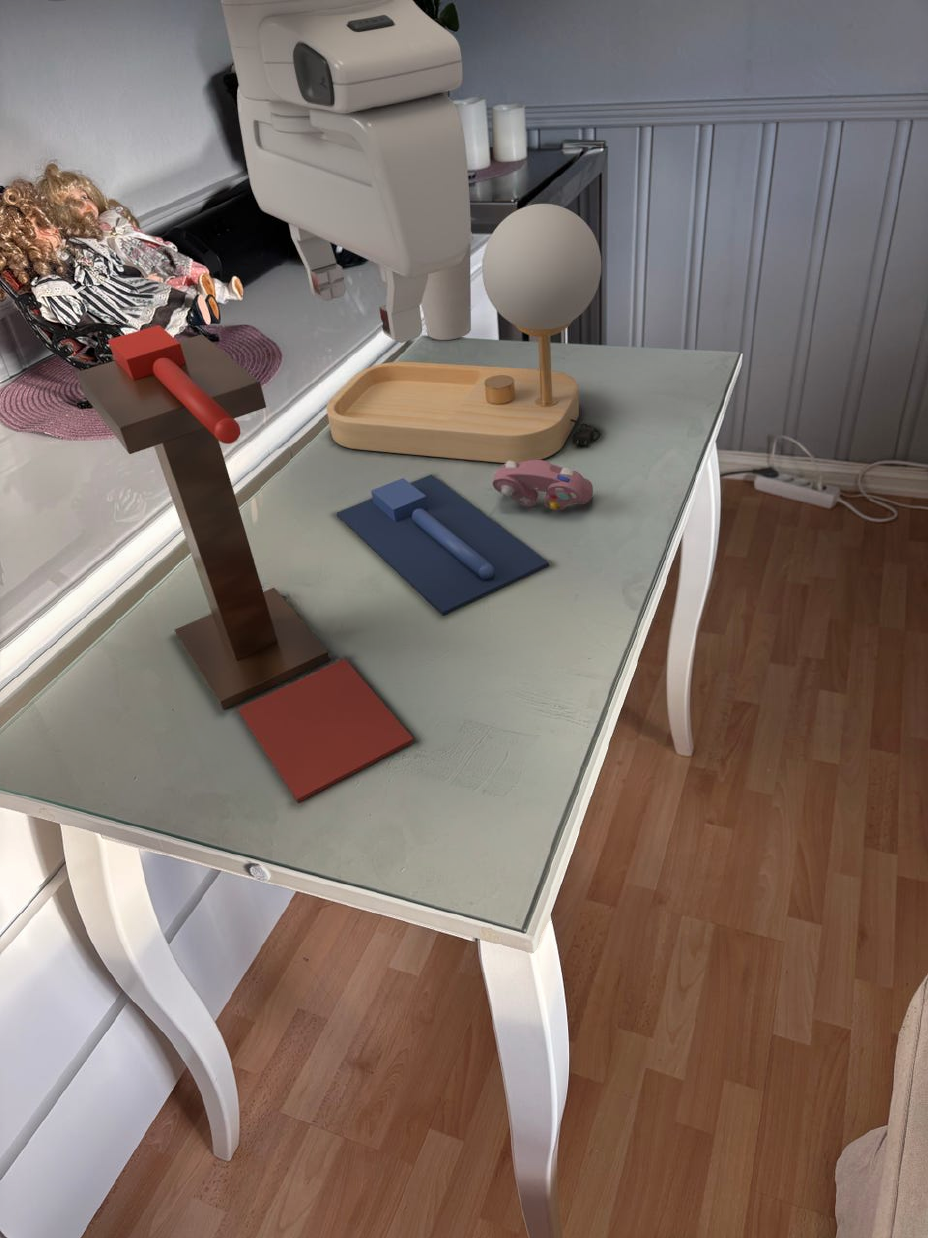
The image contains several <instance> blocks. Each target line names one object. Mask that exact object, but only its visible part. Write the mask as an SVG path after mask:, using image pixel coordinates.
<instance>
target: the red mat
mask: <svg viewBox="0 0 928 1238" xmlns="http://www.w3.org/2000/svg"><path fill="white" fill-rule="evenodd" d="M237 711H238V713H239V714H240V716H241V717H242V719H243V720H244V722H245V723H246V725H247V726H248V728H249V730H250V731H251V732H252V735H253V736H254V737H255V739H256V740H257V742H258V744H259V746H260V747H261V748H262V750H263V751H264V753H265V754H266V756H267V757H268V759H269V760H270V762H271V763H272V765H273V767H274V768H275V770H276V771H277V773H278V774H279V776H280V777H281V779H282V781H283V782H284V784H285V785H286V786H287V788H288V789H289V791H290V793H291V794H292V796H293V797H294V799H295V801H296V802H297V803H301V802H302V801H304V800H306V799H308V798H310V797H312V796H314V795H315V794H318V793H319V792H321V791H323V790H325V789H327V788H329V787H331V786H333V785H335V784H336V783H338V782H340V781H342V780H344V779H346V778H348V777H350V776H352V775H353V774H355V773H357V772H359V771H361V770H364V769H365V768H367V767H368V766H372V764H374V763H377V762H378V761H381V760H382V759H384V758H386V757H388V756H390V755H392V754H394V753H395V752H397V751H399V750H401V749H403V748H405V747H407V746H409V745H411V744H413V743H415V739H414V737H413V736H412V735H411V733H409V732H408V731H407V729H406V728H405V727H404V726H403V725H402V723H401V722H400V721H399V720H398V719H397V717H396V716H395V715H394V714H393V713H392V712H391V710H390V709H389V708H388V707H387V706H386V705H385V703H384V702H383V701H382V700H381V699H380V698H379V696H378V695H377V694H376V692H375V691H373V689H372V688H371V687H370V685H368V683H367V682H366V681H365V680H364V678H362V676H361V675H360V674H359V673H358V672H357V670H356V669H354V667H353V666H352V665H351V664H350V663H349V661H348V660H347V659H346V658H342V659H340V660H338V661H336V662H334V663H331V664H330V665H327V666H325V667H322V668H321V669H318V670H317V671H315V672H313V673H310V674H308V675H306V676H304V677H302V678H299V679H298V680H295V681H294V682H290V683H289V684H287V685H284V686H283V687H281V688H278V689H276V690H274V691H272V692H269V693H268V694H266V695H264V696H261V697H259V698H257V699H255V700H253V701H251V702H248V703H246V704H245V705H242V706H240V707H238V708H237Z"/></svg>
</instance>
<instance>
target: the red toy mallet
mask: <svg viewBox="0 0 928 1238" xmlns="http://www.w3.org/2000/svg"><path fill="white" fill-rule="evenodd" d="M178 341H179V340H177V338H175V337H174V336H173V335H171V334H170V333H169V332H168V331H166V330H165V328H163V326H161V325H160V324H158V325H154V326H150V327H147V328H144V329H143V328H142V329H140V330H138V331H133V332H129V333H127V334H123V335H120V336H117V337H112V338H110V339H108V340H107V343H108V345H109V347H110V350H111V353H112V356H113V358H114V361H116V362H117V363H118V364H119V365H120V366H121V367H122V368H123V369H124V370H125V371H126V372H127V374H128V375H129V376H130V377H131V378H132V379H133V380H137V379H140V378H143V377H146V376H149V375H153V374H155V376H156V377H157V378H158V379H159V380H160V381H161V382H162V383H163V384H164V385H165V386H166V387H167V388H168V389H169V390H170V391H171V392H172V393H173V395H174V396H175V397H176V398H177V399H178V400H179V401H180V402H181V403H182V404H183V405H184V406H185V407H186V408H187V409H188V410H189V411H190V412H191V413H192V414H193V415H194V416H195V417H196V418H197V419H198V420H199V421H200V422H201V423H202V424H203V425H204V426H205V427H206V428H207V429H208V430H209V431H210V432H211V433H212V434H213V435H214V436H215V437H216V438H217V439H218V440H219V443H222V444H227V445H230V444H233V443H235V442H237V441H238V440H239V438H240V436H241V426H240V424H239V422H237V420H236V419H235V418H234V419H233V418H232V417H231V416H230V415H229V414H228V413H227V412H226V411H225V410H224V409H223V408H222V407H221V406H219V405H218V404H217V403H216V402H215V401H214V400H213V399H212V398H211V397H210V396H209V395H208V394H207V393H206V392H205V391H204V390H202V389H201V388H200V387H199V386H198V385H197V384H196V383H195V382H194V381H193V380H192V379H191V378H190V377H189V376H188V375H187V374H186V373H184V372H183V371H182V370H181V369H180V368H179V367H178V366H181V365H184V364H186V361H185V358H184V355H183V351H182V348H181V345H180V343H179V342H178Z"/></svg>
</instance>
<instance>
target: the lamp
mask: <svg viewBox="0 0 928 1238" xmlns="http://www.w3.org/2000/svg"><path fill="white" fill-rule="evenodd" d="M596 238H597V237H596V236H595V234H594V232H593V231H592V229H591V228H590V226H589V225H588V224H587V222H585V220H584V219H583V218H581V217H580V216H579V215H578V214H577V213H575V212H573V211H572V210H570V209H568V208H565V207H563V206H560V205H556V204H551V203H535V204H531V205H527V206H524V207H521V208H518V209H517V210H515V211H513V212H512V213H511V214H509V215H507V216H506V217H505V218H504V219H503V220H502V221H501V222H500V223H499V224H498V225H497V226H496V228H495V229H494V231H493V232H492V234H491V235H490V237H489V239H488V241H487V243H486V245H485V249H484V253H483V257H482V266H481V271H482V272H481V273H482V281H483V286H484V290H485V292H486V295H487V298H488V300H489V301H490V303H491V305H492V306H493V307H494V309H495V310H496V311H497V313H498V314H499V315H500V316H501V317H502V318H504V319H505V320H506V321H508V322H509V323H511V325H514V326H515V327H516V329H518V330H519V331H520V332H522V333H523V334H526V335H528V336H532V337H537V343H538V344H537V345H538V347H537V348H538V365H539V367H538V368H539V369H538V368H520V367H503V366H485V365H469V364H453V363H452V364H451V363H435V362H419V361H418V362H416V361H391V362H390V361H389V362H384V363H380V364H375V365H372V366H369V367H365V368H364V369H362V370H360V371H358V372H357V373H355V375H353V376H352V377H351V378H350V379H349V380H348V381H347V382H346V383H345V384H344V385H343V386H342V387H341V388H340V389H339V390H338V391H337V392H336V393H335V394H334V395H333V396H332V397H331V398H330V399H329V401H328V402H327V405H326V413H327V419H328V423H329V424H328V425H329V429H330V433H331V438H332V440H333V441H334V442H335V443H336V444H338V445H339V446H342V447H344V448H347V449H352V450H361V451H372V452H381V453H392V454H403V455H413V456H414V455H415V456H426V457H435V458H447V459H457V460H467V461H478V462H489V463H500V464H505V463H506V462H507V461H514V462H515V463H518V462H523V461H530V460H544V459H547V458H549V457H551V456H553V455H554V454H556V453H557V452H559V451H560V450H561V449H562V447H563V446H564V445H565V443H566V441H567V440H568V438H569V436H570V434H571V432H572V431H573V428H574V427H575V424H577V425H578V426H580V428H578V431H577V432H575V433H574V434H573V436H572V442H573V443H575V445H577V446H590V443H593V442H595V441H597V440H598V439H599V438H600V437H601V431H600V429H598V428H596V427H594V426H592V425H589V424H587V423H580V421H578V418H579V415H580V401H579V399H580V398H579V397H580V393H579V383H578V382H577V380H576V379H575V378H574V377H573V376H571V375H569V374H567V373H565V372H560V371H557V370H552V350H551V349H552V347H551V336H555V335H557V334H560V333H561V332H563V331H565V330H566V329H567V328H568V327H569V326H571V324H572V322H573V321H575V320H576V319H577V318H579V317H580V316H581V315H582V314H583V313H584V311H586V309H587V308H588V307H589V306H590V304H591V302H592V301H593V300H594V297H595V296H596V293H597V291H598V288H599V285H600V281H601V276H602V256H601V250H600V247H599V244H598V241H597V239H596ZM596 433H597V435H596ZM595 435H596V437H594V436H595Z"/></svg>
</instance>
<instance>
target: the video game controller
mask: <svg viewBox="0 0 928 1238" xmlns="http://www.w3.org/2000/svg"><path fill="white" fill-rule="evenodd" d="M492 486H493V488H494V490H495V491H497V492H498V493H500V494H502V495H503V496H505V497H508V498H512V499H513V500H514V501H515V502H517V503H518V504H519V505H521V506H523V507H534V506H535V505H536V503H537V500H538V497H539V492H542V493H545V495H544V499H543V504H544V506H545V507H547V508H548V509H550V510H553V511H557V512H558V511H563V510H564V509H566V507H567V506H569V505H575V504H577V505H585V504H587V503H589V502H590V501H592V498H593V495H594V487H593V483H592V482H591V481H590V479H587V478H585V477H584V476H583V475H582V474H581V473H580V472H578V471H576V470H573V468H571V467H561V466H559V465H557V464H552V463H551V462H549V461H547V460H544V459H541V460H530V461H523V462H518V463H515V462H514V461H507V462H506V463H503V464H502V465H501V466H500V467H499V468H498V470H497V471H496V473H495V474H494V477H493V480H492Z"/></svg>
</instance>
